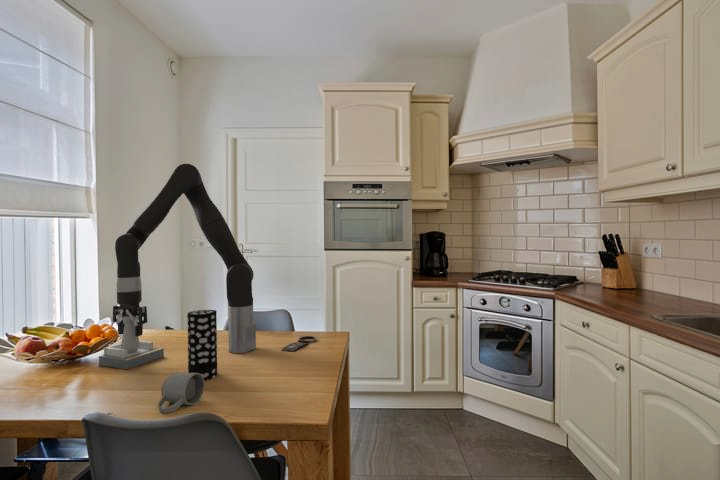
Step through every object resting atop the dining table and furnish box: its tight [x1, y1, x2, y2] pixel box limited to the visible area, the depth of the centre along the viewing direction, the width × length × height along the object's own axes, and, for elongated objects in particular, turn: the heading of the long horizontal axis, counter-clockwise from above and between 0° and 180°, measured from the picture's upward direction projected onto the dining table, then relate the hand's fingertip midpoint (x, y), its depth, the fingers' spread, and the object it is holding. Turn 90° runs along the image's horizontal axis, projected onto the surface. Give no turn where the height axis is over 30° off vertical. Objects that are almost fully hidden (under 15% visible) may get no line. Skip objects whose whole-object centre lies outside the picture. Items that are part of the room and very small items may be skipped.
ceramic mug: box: [157, 372, 205, 414], centre depth 95 cm, size 11×8×8 cm
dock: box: [98, 340, 165, 370], centre depth 132 cm, size 14×14×6 cm
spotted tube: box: [186, 309, 218, 382], centre depth 115 cm, size 8×8×20 cm
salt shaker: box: [120, 316, 140, 354], centre depth 132 cm, size 6×6×13 cm
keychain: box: [281, 335, 317, 353], centre depth 149 cm, size 8×19×2 cm, turn 158°
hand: (130, 335), depth 132 cm, fingers open, 8 cm apart
